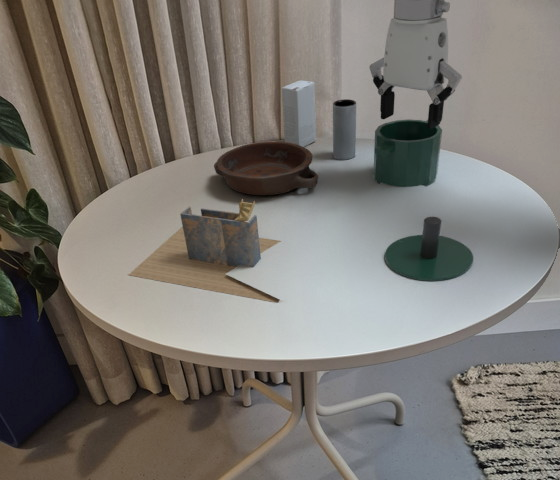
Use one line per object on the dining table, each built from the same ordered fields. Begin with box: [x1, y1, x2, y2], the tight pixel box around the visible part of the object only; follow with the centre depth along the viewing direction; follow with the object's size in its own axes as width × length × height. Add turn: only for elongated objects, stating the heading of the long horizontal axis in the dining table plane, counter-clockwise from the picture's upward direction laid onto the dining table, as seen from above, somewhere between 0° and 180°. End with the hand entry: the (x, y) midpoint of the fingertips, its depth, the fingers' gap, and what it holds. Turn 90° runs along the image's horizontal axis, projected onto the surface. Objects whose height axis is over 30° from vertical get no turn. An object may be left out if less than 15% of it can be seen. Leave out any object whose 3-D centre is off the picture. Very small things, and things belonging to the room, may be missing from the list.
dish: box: [213, 140, 319, 196], centre depth 109 cm, size 18×22×5 cm
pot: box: [372, 119, 443, 188], centre depth 106 cm, size 12×17×8 cm
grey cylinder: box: [332, 98, 357, 161], centre depth 115 cm, size 4×4×10 cm
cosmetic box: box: [281, 79, 317, 148], centre depth 121 cm, size 6×4×12 cm
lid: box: [384, 216, 474, 282], centre depth 83 cm, size 13×13×7 cm
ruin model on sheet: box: [128, 198, 282, 303], centre depth 86 cm, size 25×16×10 cm, turn 67°
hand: (409, 121), depth 102 cm, fingers open, 9 cm apart
